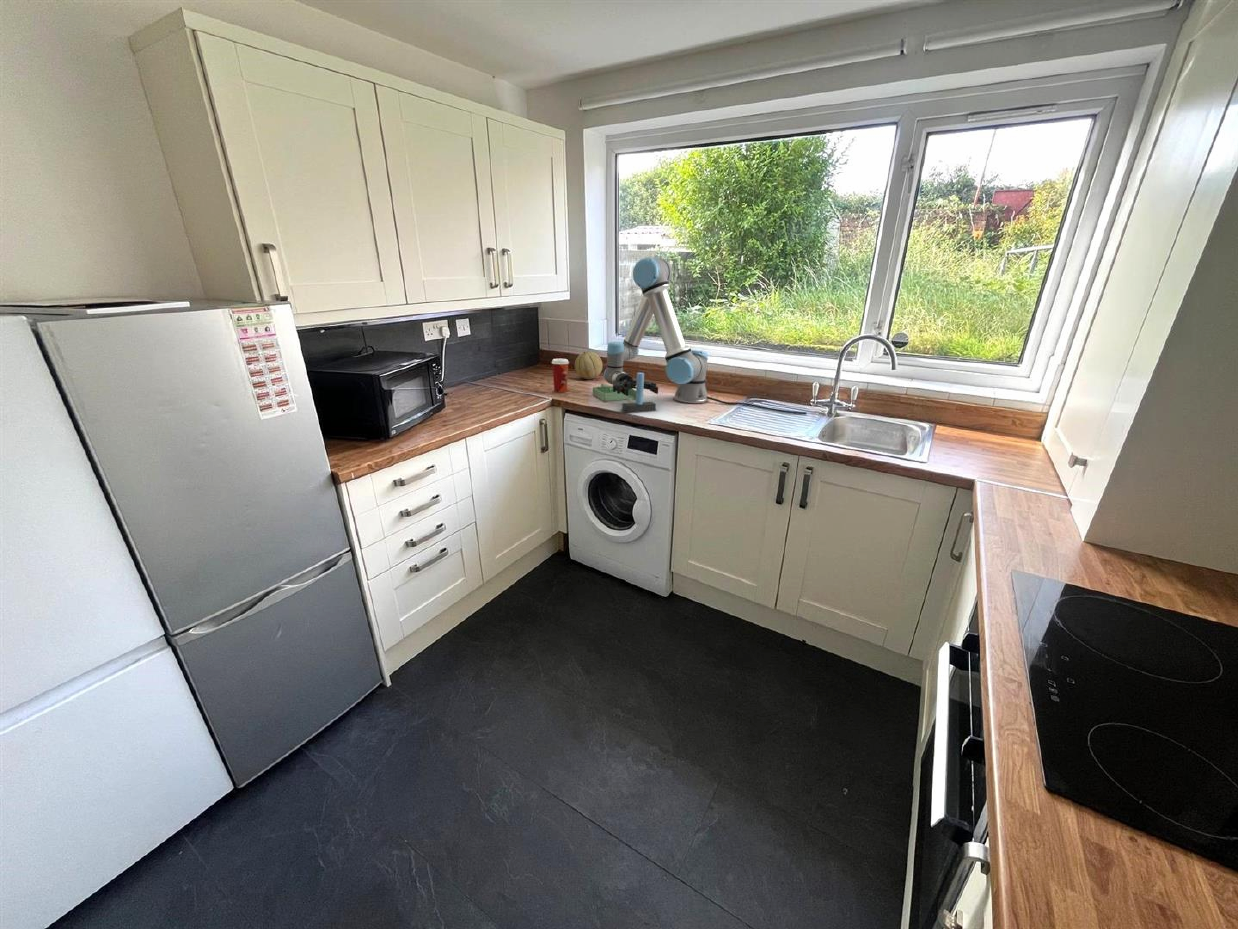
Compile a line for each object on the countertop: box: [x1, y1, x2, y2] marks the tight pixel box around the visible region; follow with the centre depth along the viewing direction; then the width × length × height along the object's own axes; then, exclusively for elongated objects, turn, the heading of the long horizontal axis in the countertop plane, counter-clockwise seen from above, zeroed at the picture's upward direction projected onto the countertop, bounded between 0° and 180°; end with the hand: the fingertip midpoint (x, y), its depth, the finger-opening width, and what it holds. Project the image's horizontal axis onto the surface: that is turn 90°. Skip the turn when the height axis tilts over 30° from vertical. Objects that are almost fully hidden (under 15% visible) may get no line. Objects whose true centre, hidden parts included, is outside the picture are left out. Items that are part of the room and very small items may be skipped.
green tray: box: [592, 382, 636, 402], centre depth 238 cm, size 25×17×3 cm
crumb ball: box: [626, 398, 635, 404], centre depth 219 cm, size 3×3×3 cm
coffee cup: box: [551, 358, 570, 393], centre depth 239 cm, size 8×8×15 cm
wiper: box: [621, 372, 657, 414], centre depth 209 cm, size 4×14×16 cm, turn 113°
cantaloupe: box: [574, 351, 603, 380], centre depth 267 cm, size 15×15×15 cm
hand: (642, 391), depth 206 cm, fingers open, 13 cm apart
